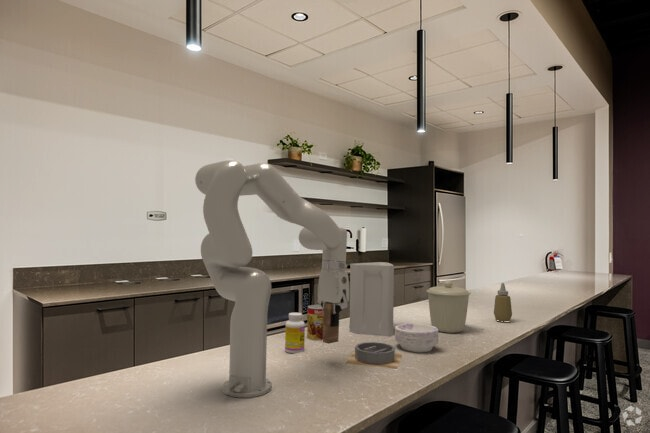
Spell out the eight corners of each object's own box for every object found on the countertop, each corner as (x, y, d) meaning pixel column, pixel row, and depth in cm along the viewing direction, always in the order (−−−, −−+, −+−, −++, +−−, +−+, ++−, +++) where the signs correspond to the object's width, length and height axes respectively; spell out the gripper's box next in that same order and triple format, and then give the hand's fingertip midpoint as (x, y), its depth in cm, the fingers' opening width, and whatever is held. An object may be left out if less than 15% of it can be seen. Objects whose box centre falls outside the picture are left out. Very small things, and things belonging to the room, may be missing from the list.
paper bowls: (405, 341, 160) (405, 320, 160) (444, 348, 151) (444, 326, 151) (387, 350, 147) (387, 327, 148) (428, 358, 139) (428, 334, 139)
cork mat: (397, 370, 126) (397, 368, 126) (345, 365, 131) (345, 363, 131) (402, 355, 142) (402, 353, 142) (355, 351, 146) (355, 349, 146)
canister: (479, 332, 176) (479, 281, 177) (451, 337, 166) (451, 284, 167) (445, 323, 191) (445, 277, 192) (417, 328, 181) (417, 279, 182)
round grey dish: (402, 358, 136) (402, 348, 136) (377, 367, 127) (378, 355, 127) (372, 350, 145) (372, 340, 145) (347, 357, 136) (347, 346, 136)
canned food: (318, 341, 158) (319, 309, 158) (302, 337, 163) (303, 306, 163) (331, 337, 164) (331, 306, 165) (315, 334, 169) (316, 304, 169)
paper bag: (374, 339, 162) (375, 266, 163) (348, 331, 174) (349, 263, 175) (406, 332, 174) (407, 264, 175) (380, 325, 186) (381, 262, 187)
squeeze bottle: (491, 319, 202) (491, 281, 203) (509, 320, 201) (509, 282, 202) (496, 323, 194) (496, 284, 195) (514, 323, 193) (514, 284, 194)
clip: (387, 356, 136) (387, 348, 136) (375, 360, 132) (375, 352, 132) (374, 353, 140) (374, 345, 140) (362, 356, 136) (362, 349, 136)
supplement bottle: (301, 354, 141) (302, 316, 141) (282, 353, 142) (283, 315, 143) (306, 349, 147) (307, 312, 148) (288, 347, 149) (288, 311, 149)
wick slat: (338, 341, 132) (339, 303, 132) (328, 343, 129) (329, 304, 129) (332, 340, 134) (334, 301, 134) (322, 342, 130) (324, 303, 131)
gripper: (360, 268, 129) (358, 328, 128) (324, 264, 141) (322, 320, 140) (344, 268, 124) (341, 331, 123) (308, 264, 136) (305, 322, 135)
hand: (331, 325), depth 131 cm, fingers closed on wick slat, 2 cm apart
